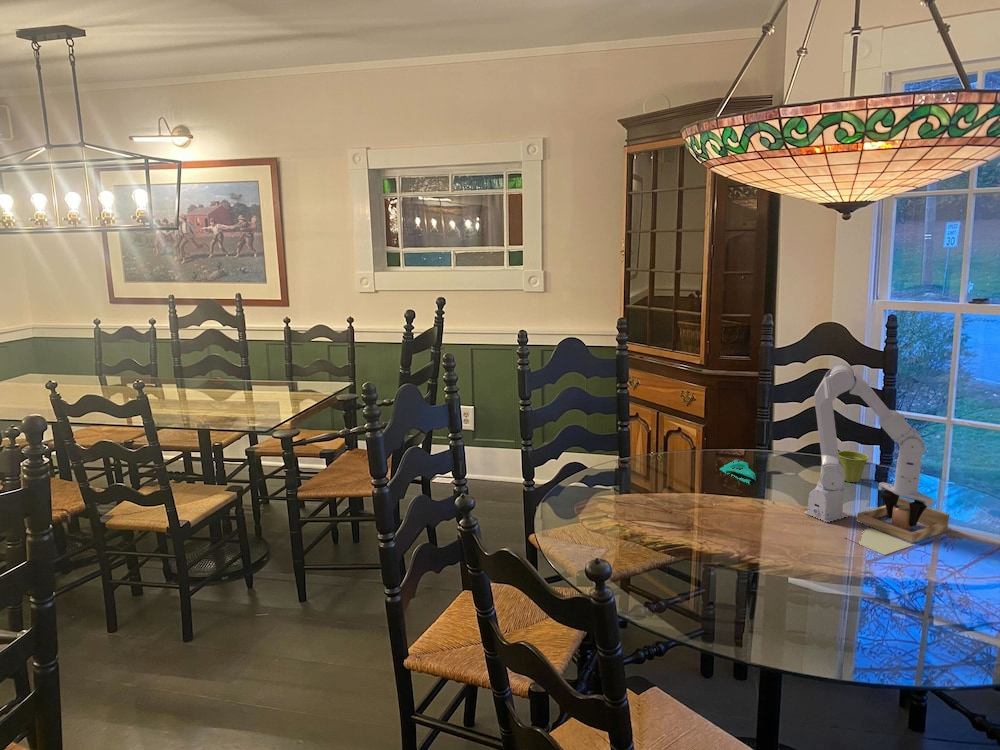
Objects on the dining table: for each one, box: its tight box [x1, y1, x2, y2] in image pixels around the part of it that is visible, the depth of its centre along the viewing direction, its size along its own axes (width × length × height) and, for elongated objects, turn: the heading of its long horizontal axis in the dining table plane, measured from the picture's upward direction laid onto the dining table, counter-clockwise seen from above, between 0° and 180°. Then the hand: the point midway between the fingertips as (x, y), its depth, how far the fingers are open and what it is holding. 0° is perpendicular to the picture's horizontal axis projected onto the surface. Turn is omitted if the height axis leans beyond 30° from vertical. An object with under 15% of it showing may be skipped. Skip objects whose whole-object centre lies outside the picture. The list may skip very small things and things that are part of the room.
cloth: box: [719, 459, 757, 486], centre depth 240 cm, size 26×14×2 cm, turn 158°
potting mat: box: [858, 527, 914, 556], centre depth 185 cm, size 12×12×1 cm
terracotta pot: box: [890, 505, 913, 531], centre depth 194 cm, size 5×5×6 cm
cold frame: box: [856, 496, 951, 544], centre depth 194 cm, size 16×16×5 cm
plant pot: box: [838, 450, 869, 484], centre depth 230 cm, size 9×9×9 cm
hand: (901, 521), depth 194 cm, fingers open, 6 cm apart
